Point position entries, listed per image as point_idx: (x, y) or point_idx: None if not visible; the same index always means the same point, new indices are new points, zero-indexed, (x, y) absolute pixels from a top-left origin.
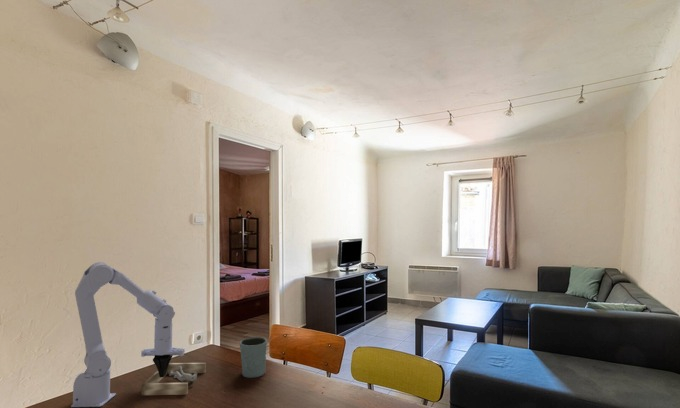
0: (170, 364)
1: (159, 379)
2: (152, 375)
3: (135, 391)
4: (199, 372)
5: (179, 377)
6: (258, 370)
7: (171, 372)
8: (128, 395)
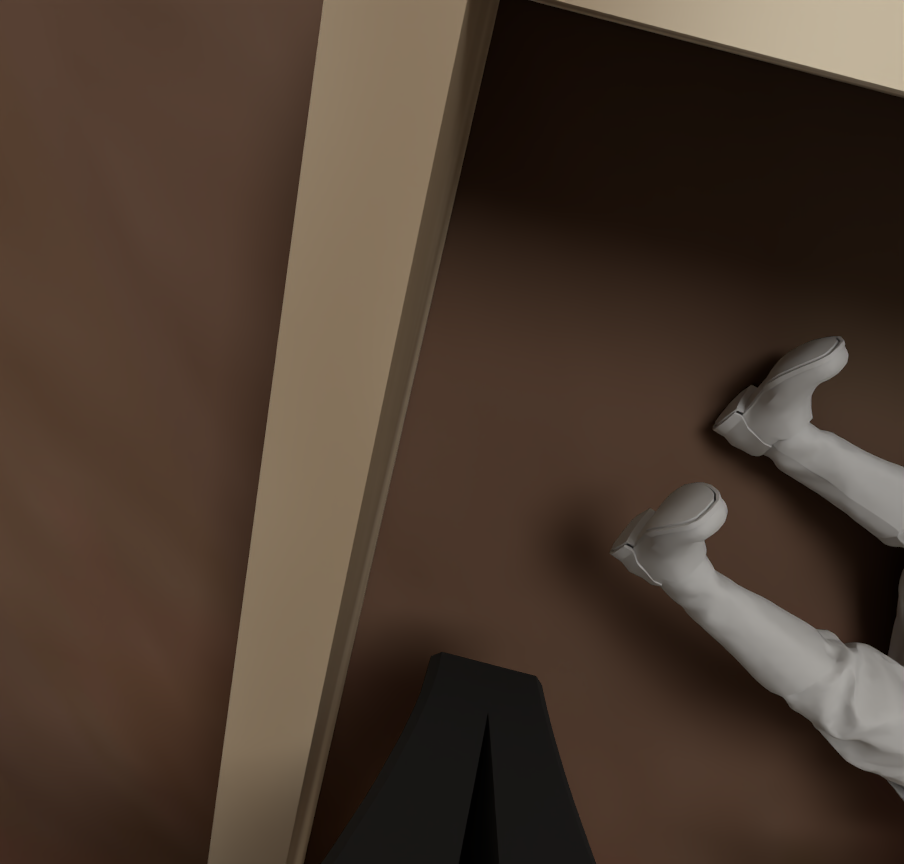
0: (609, 14)
1: (379, 515)
2: (220, 838)
3: (84, 757)
4: None
5: (901, 786)
6: None
7: (689, 573)
8: (45, 837)
